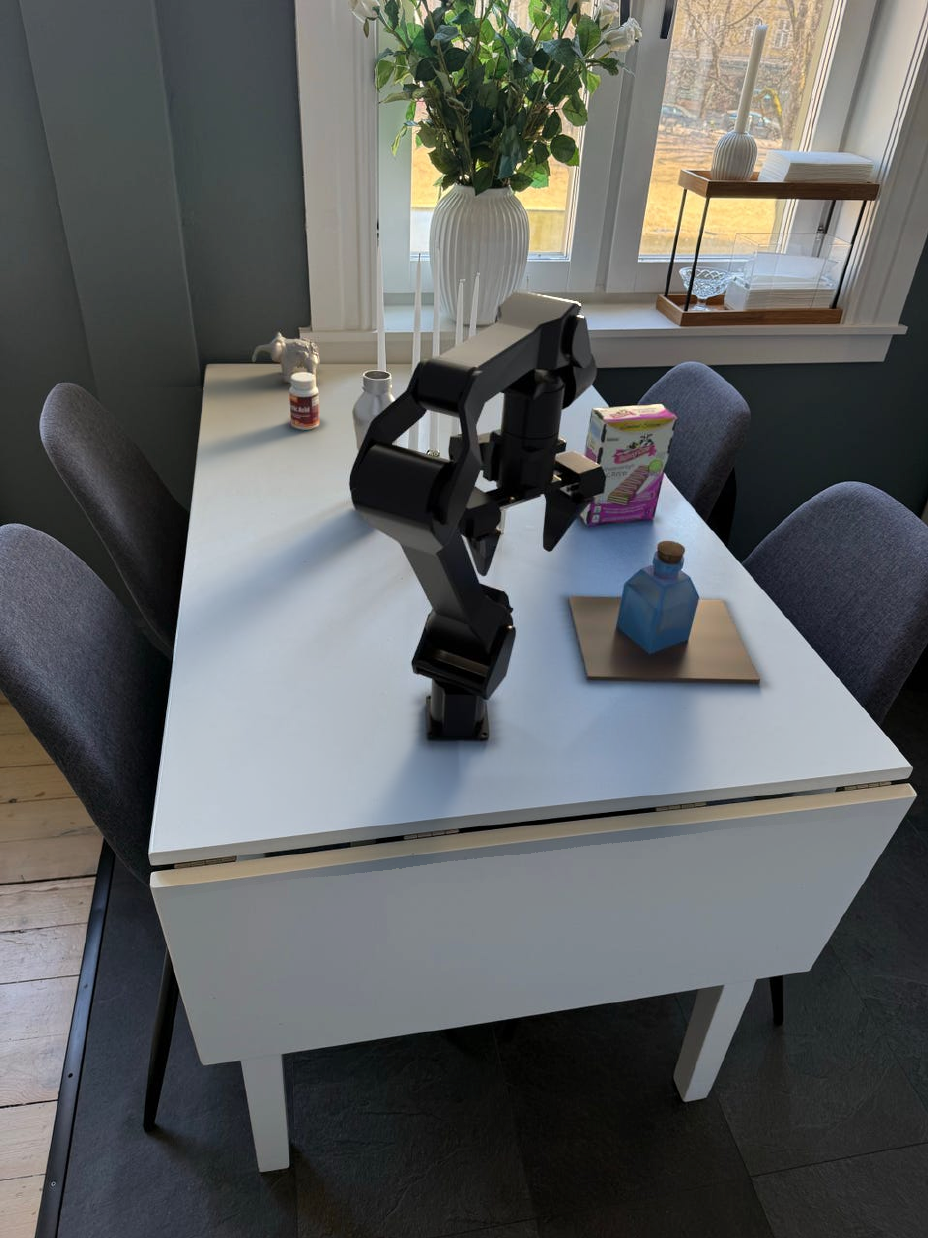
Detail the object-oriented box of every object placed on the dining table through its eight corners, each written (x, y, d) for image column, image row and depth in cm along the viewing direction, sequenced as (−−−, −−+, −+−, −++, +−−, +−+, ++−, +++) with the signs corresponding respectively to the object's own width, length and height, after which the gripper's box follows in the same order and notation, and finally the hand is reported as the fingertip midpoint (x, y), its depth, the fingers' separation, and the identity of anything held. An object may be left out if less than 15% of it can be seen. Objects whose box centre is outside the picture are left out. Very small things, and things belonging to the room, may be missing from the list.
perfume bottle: (654, 612, 114) (673, 529, 107) (688, 639, 110) (710, 554, 103) (615, 626, 111) (632, 541, 104) (649, 654, 107) (669, 567, 100)
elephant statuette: (327, 384, 169) (326, 343, 164) (263, 391, 164) (260, 349, 160) (312, 366, 175) (310, 326, 171) (250, 373, 171) (247, 332, 166)
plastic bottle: (393, 522, 129) (395, 387, 118) (347, 515, 130) (345, 380, 118) (405, 501, 134) (408, 369, 123) (360, 494, 135) (359, 363, 124)
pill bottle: (286, 427, 153) (283, 379, 148) (298, 416, 156) (296, 369, 151) (312, 432, 152) (310, 383, 147) (324, 421, 155) (322, 373, 150)
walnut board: (759, 683, 105) (760, 679, 104) (586, 680, 103) (587, 676, 103) (721, 603, 118) (722, 599, 117) (567, 599, 116) (568, 595, 116)
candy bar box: (587, 528, 131) (604, 421, 122) (573, 511, 135) (589, 406, 125) (656, 520, 134) (678, 415, 125) (641, 504, 138) (661, 401, 129)
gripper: (546, 381, 99) (531, 508, 108) (404, 416, 89) (401, 552, 99) (620, 418, 92) (597, 550, 101) (474, 461, 82) (463, 602, 92)
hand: (515, 561), depth 98 cm, fingers open, 9 cm apart
